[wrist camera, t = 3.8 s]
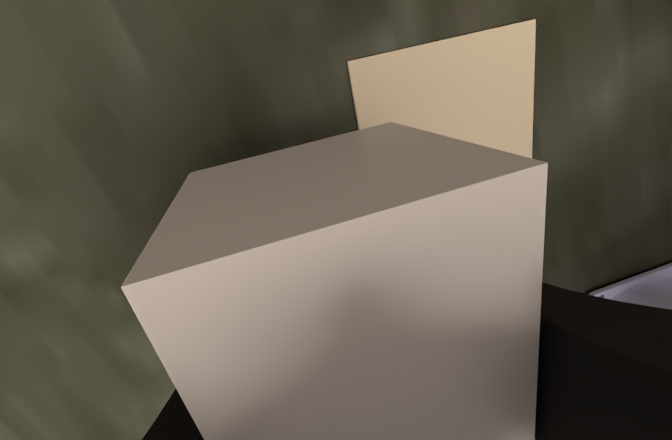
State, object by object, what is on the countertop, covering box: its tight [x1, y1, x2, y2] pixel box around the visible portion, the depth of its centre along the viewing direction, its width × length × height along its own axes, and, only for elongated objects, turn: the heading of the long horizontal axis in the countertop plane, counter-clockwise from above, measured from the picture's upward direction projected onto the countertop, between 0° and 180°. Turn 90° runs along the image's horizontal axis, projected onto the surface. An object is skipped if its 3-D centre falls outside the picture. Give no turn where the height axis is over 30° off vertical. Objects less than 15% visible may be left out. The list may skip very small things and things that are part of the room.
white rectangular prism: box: [121, 122, 548, 440], centre depth 9 cm, size 10×6×6 cm, turn 11°
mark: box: [347, 19, 536, 158], centre depth 19 cm, size 10×10×1 cm
